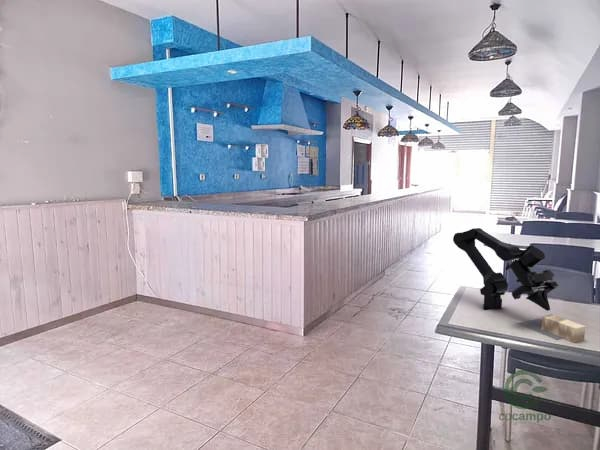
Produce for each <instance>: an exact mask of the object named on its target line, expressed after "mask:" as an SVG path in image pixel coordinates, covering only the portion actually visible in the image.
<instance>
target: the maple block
mask: <svg viewBox="0 0 600 450" xmlns="http://www.w3.org/2000/svg"><path fill="white" fill-rule="evenodd" d="M541 320H542V328H541V329H542V330H544V331H547V332H549V333H552V334H554V335H557V336H559V337H562V338H564V339H565V340H568V341H570V342H572V343H578V342H582V341H585V334H586V326H585V325H583V324H580V323H578V322H574V321H573V320H572V321H571V320H568V319H566V318H563V317H561V316H557V315H554V314H547V315H542V319H541ZM564 339H563V340H564Z"/></svg>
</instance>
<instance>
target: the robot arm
mask: <svg viewBox="0 0 600 450" xmlns="http://www.w3.org/2000/svg"><path fill="white" fill-rule="evenodd" d="M452 240H453V244H454V245H455V246H456V247H457V248H458V249H460V250H462V251H463V252H465V254H466V255H467V256H468V258H469V259H470V261H471V262H472V263H473V265H474V266H475V268H476V269H477V270H478V272H479V273H480V275H481V276H482V278H483V285H484V286H482V287H481V288H480V289H479V291H480V295H481V296H483V304H482V308H483V309H482V310H484V311H489V310H502V308H503V298H502V297H501V296H505V294H506V292H507V291H508V289H509V283H508V279H506V277H505V276H504V274H503V273H502V272H495V271H494V270H493V268H492V267H491V265H490V264H489V263H488V261H487V260H486V259H485V257H484V256H483V255H482V254H481V252H480V251H479V249H478V248H477V246H476V240H477V241H478V242H481V244H483V245H485V246H486V247H488V248H490V249H491V250H493V252H495V255H496V256H497V257H498V258H499V259H500V260H502V261H504V262H507V263H506V267H505V271H510V270H511V271H512V272H513V274H514V275H515V277H516V278H517V279H516V283H518V284H521V285H520V286H518V287H517V288H515V289H514V290H513V291H512V292H511V296H512V298H513V299H514V300H519V299H521V297H522V295H525V294H526V295H527V297H526V298H525V299H526V300H529V301H530V302H532V303H534V304H535V305H537V306H539V307H540V308H542V309H544V310H545V311H547V312H548V311H550V310H551V306H550V303H549V299H548V294H549V293H551V292H552V291H554V290H555V289H556V288H558V287H559V284H558V283H557V282H556V280H555V281H554V279H553V278H554V276H555V274H554V273H553V271H552V270H551V269H546V270H543V271H542V272H540V273H537V271H532V269H531V268H534V267H536V266H537V265H539V263H541V262H542V261H544V260H545V258H546V256H545V253H544V252H543V251H542V250H541V249H540V248H537V247H536V246H534V245H533V244H532V245H528V246H527V247H526V248H525V249H521V248H520V247H519V246H517V245H515V244H511V243H507V242H504V241H501V240H500V239H498V238H497V237H495V236H493V235H492V234H490V233H488V232H486V231H484V230H483V229H482V228H481V227H479V228H478V227H476V228H471V229H469V230H466V231H462V232H455V233H454V234H453V237H452ZM508 261H509V262H508ZM511 261H512V262H511Z"/></svg>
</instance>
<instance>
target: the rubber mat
mask: <svg viewBox="0 0 600 450" xmlns="http://www.w3.org/2000/svg"><path fill="white" fill-rule="evenodd" d="M516 324H517V325H519V326H521V327H524V328H527V329H529V330H532V331H534V332H537V333H539V334H541V335H543V336H546V337H549V338H551V339H553V340H556V341H559V340H564V338H562V337H559V336H557V335H554V334H552V333H549V332H547V331H544V330H542V329H541V328H542V319H540V318H536V319H531V320H526V321H522V322H518V323H517V322H516Z"/></svg>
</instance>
